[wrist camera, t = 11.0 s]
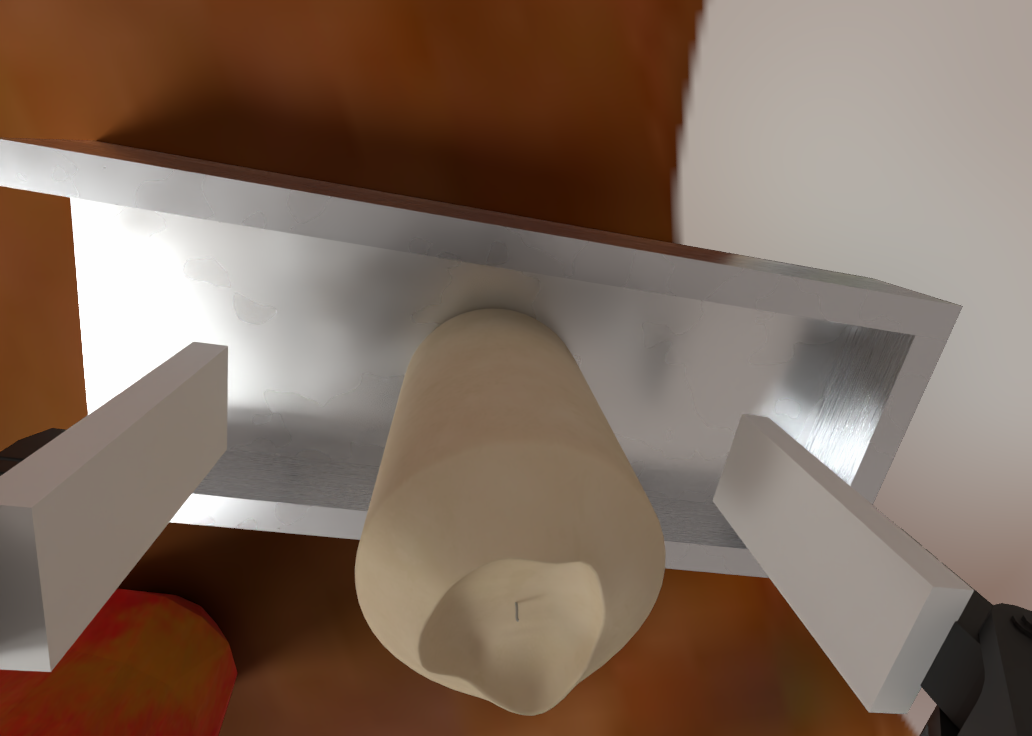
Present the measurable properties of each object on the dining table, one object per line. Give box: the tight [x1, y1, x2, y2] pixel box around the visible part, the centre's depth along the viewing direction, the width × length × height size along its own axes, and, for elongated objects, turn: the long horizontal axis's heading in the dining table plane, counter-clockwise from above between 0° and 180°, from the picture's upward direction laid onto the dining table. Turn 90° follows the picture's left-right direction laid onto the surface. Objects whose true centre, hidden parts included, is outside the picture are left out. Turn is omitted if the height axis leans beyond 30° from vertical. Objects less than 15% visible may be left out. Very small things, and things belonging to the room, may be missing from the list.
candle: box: [355, 308, 666, 716], centre depth 13 cm, size 6×6×10 cm
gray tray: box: [0, 138, 962, 578], centre depth 17 cm, size 24×10×4 cm, turn 80°
